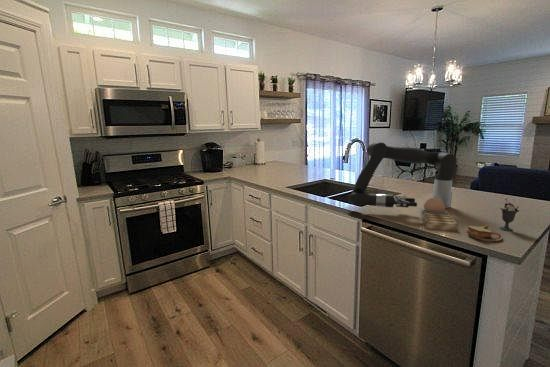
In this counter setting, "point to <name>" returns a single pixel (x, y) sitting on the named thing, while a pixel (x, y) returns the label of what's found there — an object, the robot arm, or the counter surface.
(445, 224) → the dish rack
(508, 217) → the sundae
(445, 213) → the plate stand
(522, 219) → the counter surface
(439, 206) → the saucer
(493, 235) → the toy sandwich meal
